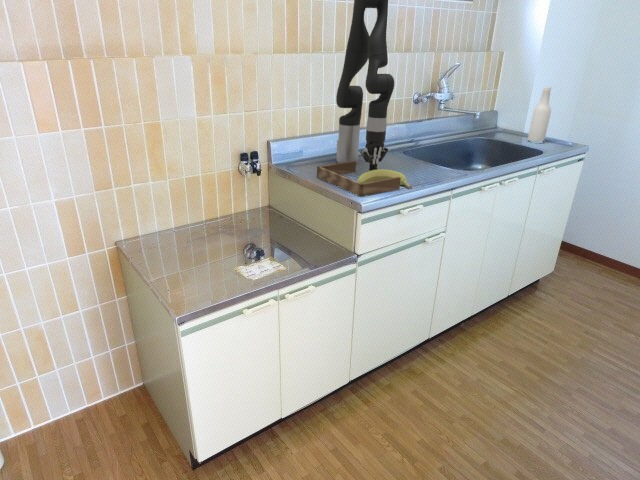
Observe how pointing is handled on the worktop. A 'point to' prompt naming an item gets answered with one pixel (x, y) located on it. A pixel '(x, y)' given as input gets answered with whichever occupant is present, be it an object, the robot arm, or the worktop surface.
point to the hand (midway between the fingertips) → (372, 172)
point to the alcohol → (540, 117)
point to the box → (334, 177)
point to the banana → (382, 176)
